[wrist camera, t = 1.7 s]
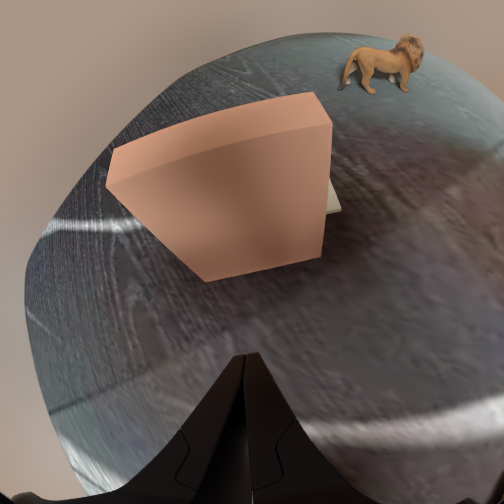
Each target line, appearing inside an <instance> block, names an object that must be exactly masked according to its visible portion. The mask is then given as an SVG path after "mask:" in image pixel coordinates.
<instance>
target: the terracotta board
mask: <svg viewBox="0 0 504 504" xmlns="http://www.w3.org/2000/svg"><path fill="white" fill-rule="evenodd" d="M332 124H333V123H332V121H331V120H330V118H329V116H328V115H327V113H326V111H325V110H324V108H323V107H322V105H321V103H320V102H319V100H318V99H317V97H316V96H315V94H314V93H313V92H308V93H301V94H295V95H289V96H283V97H278V98H273V99H268V100H263V101H258V102H254V103H249V104H245V105H241V106H237V107H233V108H229V109H225V110H222V111H218V112H214V113H211V114H208V115H204V116H201V117H198V118H194V119H191V120H188V121H185V122H182V123H179V124H176V125H173V126H171V127H168V128H165V129H162V130H160V131H157V132H154V133H152V134H149V135H147V136H144V137H142V138H139V139H137V140H134V141H132V142H130V143H127V144H125V145H123V146H120V147H118V148H116V149H114V151H113V155H112V159H111V164H110V168H109V172H108V177H107V182H106V188H107V189H108V190H109V191H110V192H111V193H112V194H113V195H114V196H115V197H116V198H117V199H118V200H119V201H120V202H121V203H122V204H123V205H124V206H125V207H126V208H127V209H128V210H129V211H130V212H131V213H132V214H133V215H134V216H135V217H136V218H137V219H138V220H139V221H140V222H141V223H142V224H143V225H144V226H145V227H146V228H147V229H148V230H149V231H150V232H152V233H153V234H154V235H155V236H156V237H157V238H158V239H159V240H160V241H161V242H162V243H163V244H164V245H165V246H166V247H167V248H168V249H169V250H170V251H172V252H173V253H174V254H175V255H176V256H177V257H178V258H179V259H180V260H181V261H182V262H183V263H185V264H186V265H187V266H188V267H189V268H190V269H191V270H192V271H193V272H194V273H196V274H197V275H198V276H199V277H200V278H201V279H202V280H203V281H204V282H210V281H214V280H219V279H224V278H228V277H233V276H238V275H242V274H247V273H252V272H256V271H261V270H265V269H270V268H274V267H279V266H283V265H287V264H292V263H296V262H301V261H305V260H309V259H314V258H318V257H321V252H322V244H323V236H324V227H325V218H326V209H327V199H328V187H329V175H330V162H331V145H332Z"/></svg>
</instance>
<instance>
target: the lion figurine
mask: <svg viewBox="0 0 504 504" xmlns="http://www.w3.org/2000/svg"><path fill="white" fill-rule="evenodd" d="M423 56H424V46H423V44H422V42H421V40H420V39H419V38H418V37H417V36H414V35H412V34H407V35H403V36H400V41H399V43H397V45H396V47H395V48H394V49H392V50H377V49H373V48H370V47H360V48H357V49H355V50H354V51H353V52H352V53H351V55H350V56H349V58H348V60H347V63H346V67H345V70H344V71H343V76H342V84H341V86H340V87H339V88H338V89H339V90H341V89H344V87H345V85H346V84H351V80H350V79H347V78H348V76H349V75H350V74H351V73H352V72H354V71H355V70H357V69H358V68H360V70H361V72H362V75H363V79H362V84H363V86H364V87H365V89H366V90H367V92H368V93H370V94H375V93H376V91H375V89H374V88H371V87H370V86H369V81H370V79H371V77H372V75H373V73H374V68H375V69H376V70H378V71H380V72H383V73H390V74H389V78H388V80H389V81H390V82H391V83H396V79H395V74H396V73H397V72H400V75H401V82H400V88H401V90H402V91H404V92H408V88H407V87H406V84H407V82H408V79H409V76H410V73H412V72H415V71H416V70H417V69H418V68H419V67H420V64H421V62H422V59H423Z"/></svg>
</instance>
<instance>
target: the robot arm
mask: <svg viewBox="0 0 504 504" xmlns="http://www.w3.org/2000/svg"><path fill="white" fill-rule="evenodd" d="M180 429H181V430H180ZM180 429H179V430H178V431H177V433H176V434H175V435H174V436H173V438H172V439H171V440H170V441H169V442H168V444H167V445H166V446H165V447H164V448H163V449H162V450H161V451H160V452H159V453H158V454H157V456H156V457H155V458H154V459H153V460H152V461H150V462H149V463H148V464H147V465H146V466H145V467H144V468H143V469H142V470H141V471H140V472H139V473H138V474H137V475H136V476H134V477H133V478H132V479H131V480H130V481H129V482H128V483H126V484H125V485H124V486H122V487H120V488H119V489H117V490H114V491H111V492H107V493H103V494H98V495H93V496H88V497H82V498H75V499H68V500H59V501H52V500H46V499H42V498H40V497H39V496H37V495H36V494H34V493H32V492H25V493H20V494H17V495H15V496H13V497H12V498H9V497H8V496H6V495H5V494H4V493H2V492H1V491H0V504H252V490H253V504H381V503H379V502H378V501H376V500H374V499H372V498H371V497H369V496H367V495H366V494H364V493H362V492H361V491H359V490H358V489H357V488H356V487H354V486H353V485H352V484H351V483H350V482H349V481H348V480H347V479H346V478H345V477H344V476H343V475H342V474H341V473H340V472H339V471H338V470H337V469H336V468H335V467H334V466H333V465H332V464H331V463H330V462H329V461H328V460H327V459H326V458H325V456H324V455H323V454H322V453H321V452H320V451H319V450H318V448H317V447H316V446H315V445H314V444H313V442H312V441H311V440H310V438H309V437H308V436H307V434H306V433H305V431H304V430H303V428H302V426H301V425H300V423H299V421H298V420H297V419H296V417H295V415H294V413H293V412H292V410H291V408H290V406H289V405H288V403H287V401H286V400H285V398H284V396H283V394H282V393H281V391H280V389H279V387H278V386H277V384H276V382H275V380H274V379H273V377H272V375H271V373H270V372H269V370H268V368H267V366H266V364H265V363H264V361H263V359H262V357H261V355H260V354H259V353H258V352H255V353H250V354H247V355H245V354H243V355H237V356H234V357H233V358H232V359H231V360H230V362H229V363H228V365H227V366H226V367H225V369H224V370H223V372H222V373H221V374H220V376H219V377H218V378H217V380H216V381H215V383H214V384H213V385H212V387H211V388H210V389H209V391H208V392H207V393H206V395H205V396H204V397H203V399H202V400H201V401H200V403H199V404H198V405H197V407H196V408H195V409H194V411H193V412H192V413H191V415H190V416H189V417H188V419H187V420H186V421H185V422H184V424H183V425H182V426H181V428H180ZM456 504H484V503H483V502H481V501H479V500H478V499H476V498H475V497H473V496H469V497H467V498H465V499H463V500H462V501H460V502H458V503H456ZM498 504H504V499H503V500H502V501H501V502H499V503H498Z"/></svg>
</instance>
